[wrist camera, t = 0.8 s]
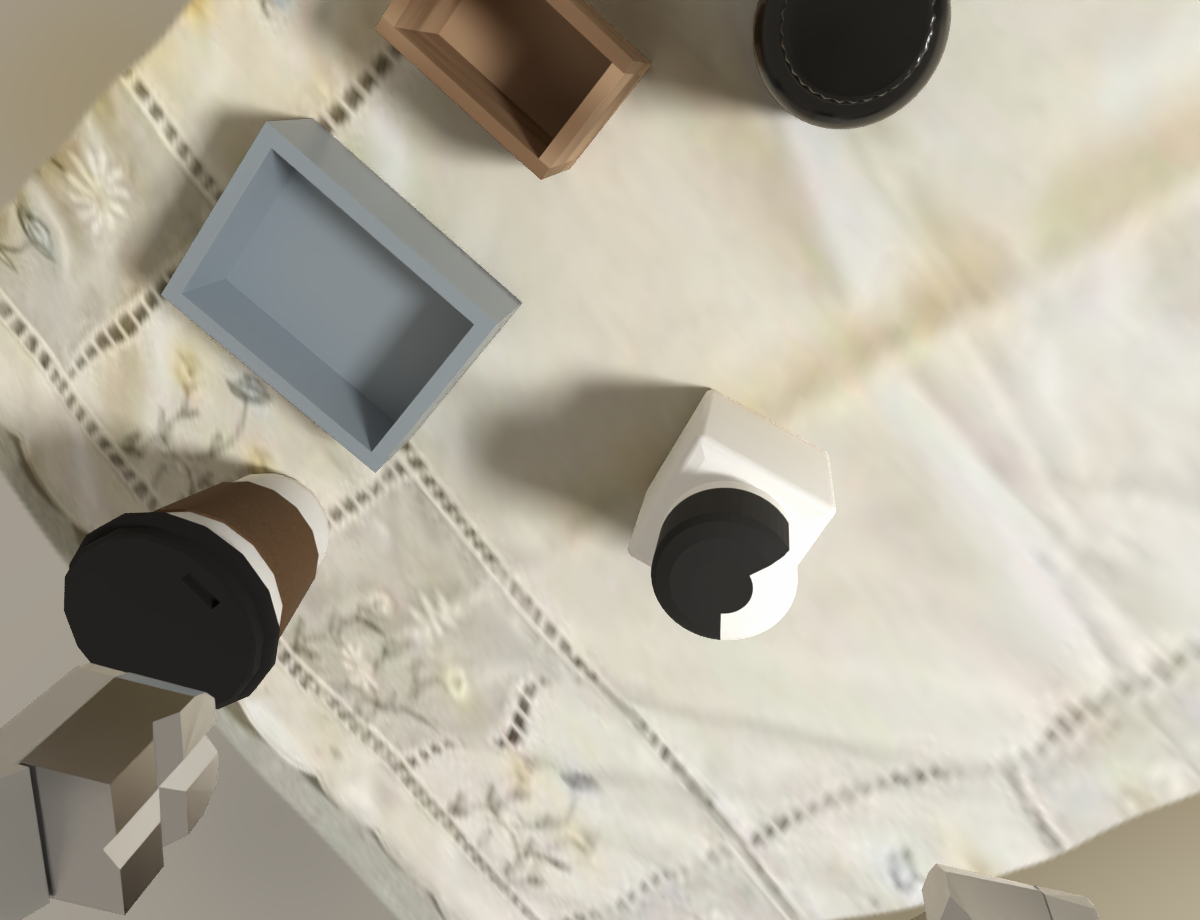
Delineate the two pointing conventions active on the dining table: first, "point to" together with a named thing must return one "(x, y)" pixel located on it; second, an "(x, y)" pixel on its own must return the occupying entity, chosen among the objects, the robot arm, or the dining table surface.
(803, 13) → the supplement bottle
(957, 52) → the dining table surface
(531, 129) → the walnut crate
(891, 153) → the dining table surface
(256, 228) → the grey crate
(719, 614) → the medicine bottle
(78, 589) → the coffee cup
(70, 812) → the robot arm
